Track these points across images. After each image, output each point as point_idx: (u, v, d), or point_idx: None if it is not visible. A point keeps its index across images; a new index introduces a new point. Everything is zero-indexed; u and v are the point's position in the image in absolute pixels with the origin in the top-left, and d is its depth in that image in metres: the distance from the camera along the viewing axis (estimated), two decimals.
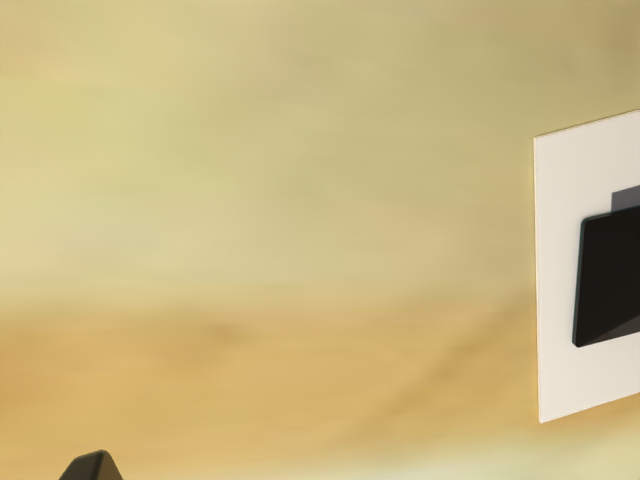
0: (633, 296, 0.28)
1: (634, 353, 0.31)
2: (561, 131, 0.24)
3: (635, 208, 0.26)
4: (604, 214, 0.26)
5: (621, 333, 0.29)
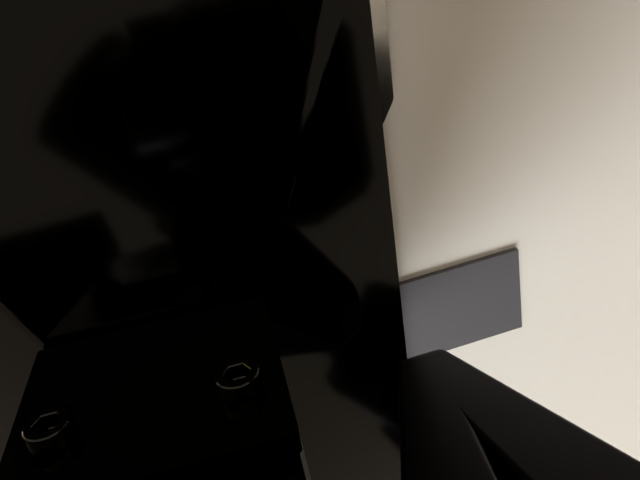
0: None
1: (547, 395, 0.12)
2: None
3: None
4: None
5: None
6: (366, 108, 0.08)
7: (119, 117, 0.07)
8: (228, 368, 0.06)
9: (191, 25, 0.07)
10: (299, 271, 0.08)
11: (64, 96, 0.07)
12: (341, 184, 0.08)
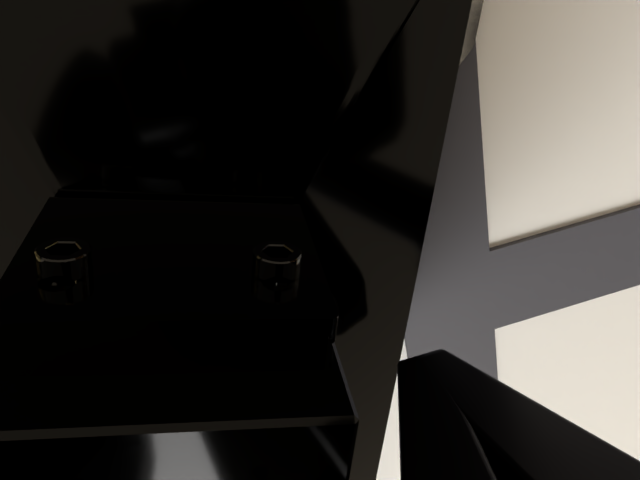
0: None
1: None
2: None
3: None
4: None
5: None
6: (449, 44, 0.07)
7: None
8: (267, 246, 0.06)
9: None
10: (337, 193, 0.08)
11: None
12: (403, 115, 0.08)
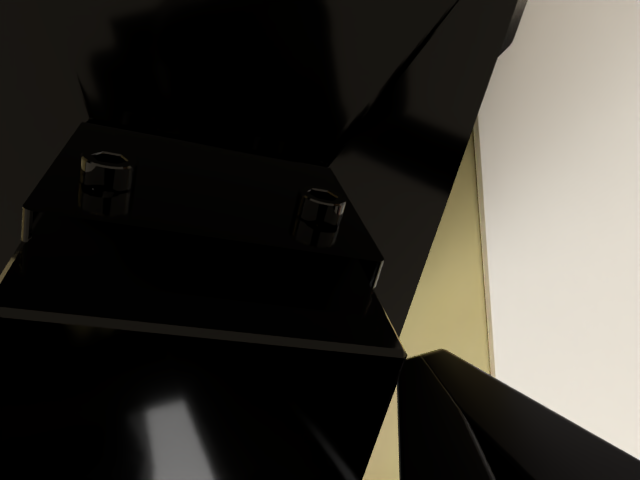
0: None
1: None
2: None
3: None
4: None
5: None
6: (492, 34, 0.08)
7: None
8: (311, 190, 0.06)
9: None
10: (365, 165, 0.08)
11: None
12: (440, 97, 0.08)
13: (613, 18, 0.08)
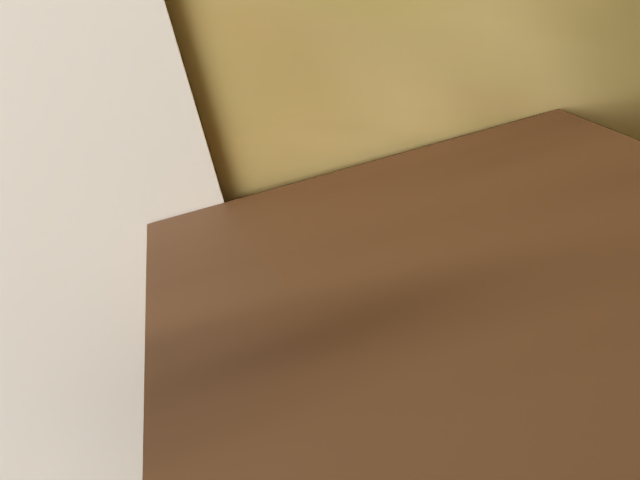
0: None
1: None
2: None
3: None
4: None
5: None
6: None
7: None
8: None
9: None
10: None
11: None
12: None
13: None
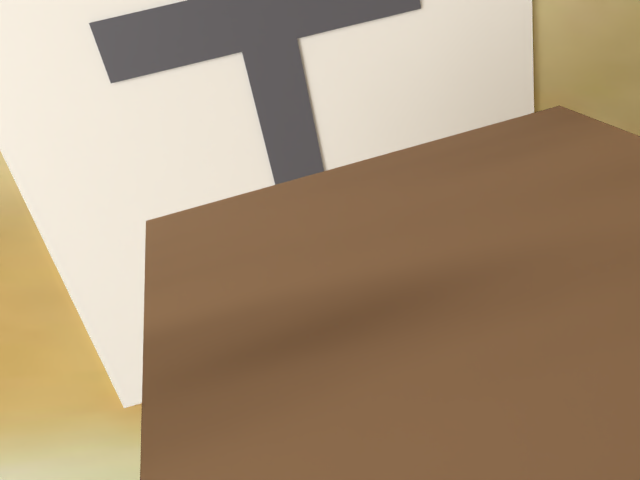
0: None
1: None
2: None
3: None
4: None
5: None
6: None
7: None
8: None
9: None
10: None
11: None
12: None
13: None
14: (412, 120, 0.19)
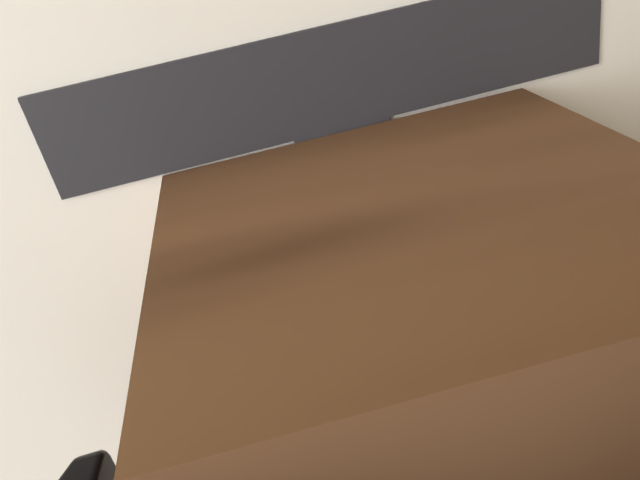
0: None
1: None
2: None
3: None
4: None
5: None
6: None
7: None
8: None
9: None
10: None
11: None
12: None
13: None
14: None
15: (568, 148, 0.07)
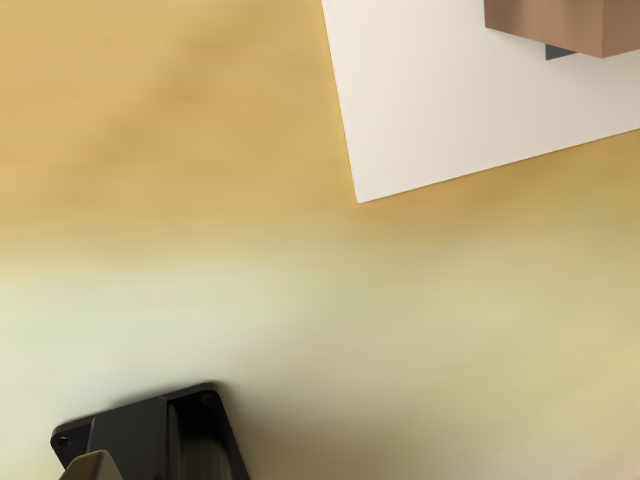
0: None
1: (492, 88, 0.20)
2: None
3: None
4: None
5: None
6: None
7: None
8: None
9: None
10: None
11: None
12: None
13: None
14: None
15: None
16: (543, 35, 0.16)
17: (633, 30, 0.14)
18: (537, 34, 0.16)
